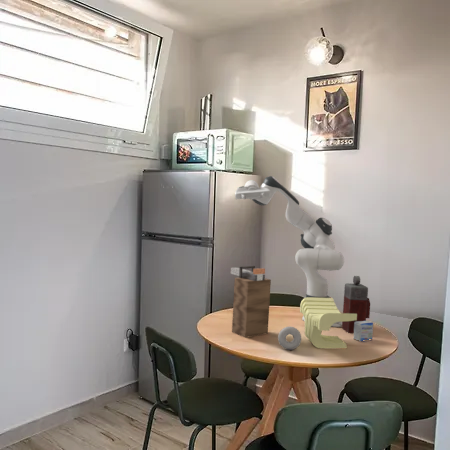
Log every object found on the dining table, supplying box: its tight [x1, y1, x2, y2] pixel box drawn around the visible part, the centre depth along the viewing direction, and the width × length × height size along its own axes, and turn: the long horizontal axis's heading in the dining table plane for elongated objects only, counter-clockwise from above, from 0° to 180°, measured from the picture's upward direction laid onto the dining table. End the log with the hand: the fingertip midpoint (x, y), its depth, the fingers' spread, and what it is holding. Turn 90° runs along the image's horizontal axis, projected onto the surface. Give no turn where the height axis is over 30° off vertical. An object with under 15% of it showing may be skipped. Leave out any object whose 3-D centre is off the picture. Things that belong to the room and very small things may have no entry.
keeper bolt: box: [230, 267, 266, 281], centre depth 216 cm, size 20×6×5 cm, turn 37°
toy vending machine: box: [341, 275, 371, 334], centre depth 226 cm, size 9×11×28 cm
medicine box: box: [353, 320, 374, 342], centre depth 212 cm, size 8×4×9 cm, turn 117°
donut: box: [277, 326, 302, 351], centre depth 192 cm, size 10×4×10 cm, turn 89°
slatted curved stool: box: [299, 297, 357, 349], centre depth 203 cm, size 30×16×18 cm, turn 6°
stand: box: [231, 265, 272, 338], centre depth 213 cm, size 10×14×31 cm
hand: (253, 197), depth 249 cm, fingers open, 8 cm apart
